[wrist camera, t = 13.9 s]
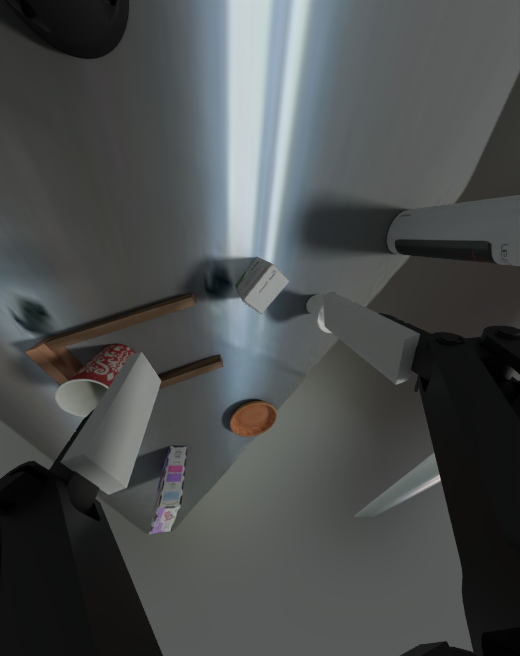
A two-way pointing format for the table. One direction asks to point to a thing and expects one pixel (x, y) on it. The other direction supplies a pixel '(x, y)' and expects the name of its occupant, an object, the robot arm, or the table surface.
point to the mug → (92, 381)
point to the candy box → (169, 490)
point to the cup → (317, 311)
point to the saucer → (253, 418)
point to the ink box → (261, 284)
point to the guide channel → (65, 365)
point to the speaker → (460, 231)
